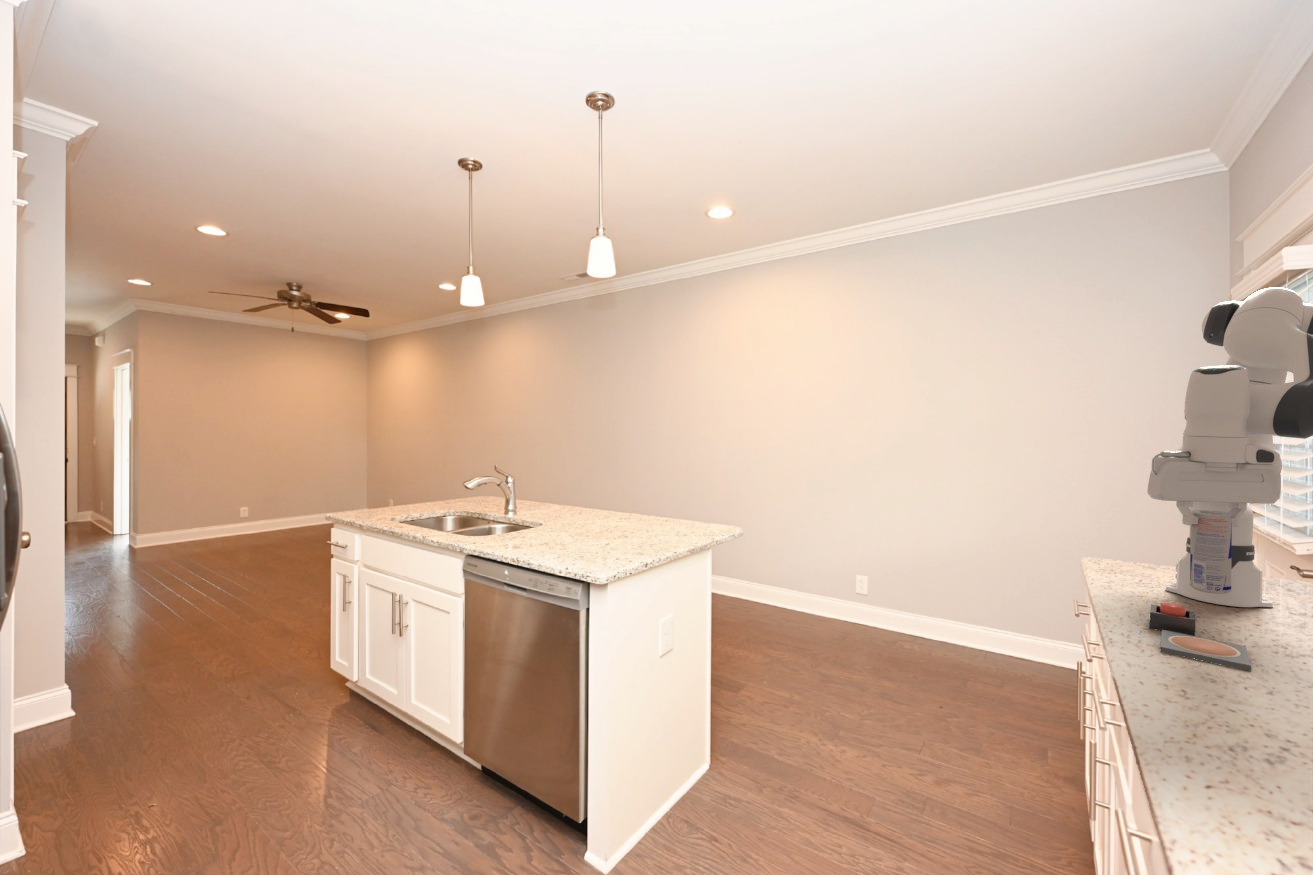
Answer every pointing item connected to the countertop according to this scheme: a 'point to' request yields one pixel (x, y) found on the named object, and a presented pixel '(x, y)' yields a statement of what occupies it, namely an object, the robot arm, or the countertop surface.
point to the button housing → (1172, 621)
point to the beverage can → (1211, 552)
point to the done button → (1172, 609)
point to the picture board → (1205, 649)
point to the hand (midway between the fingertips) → (1209, 525)
